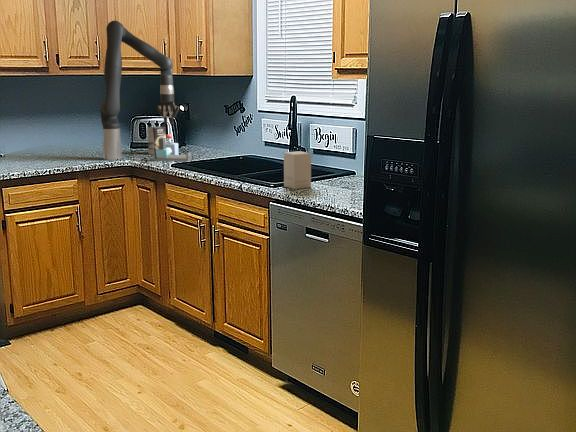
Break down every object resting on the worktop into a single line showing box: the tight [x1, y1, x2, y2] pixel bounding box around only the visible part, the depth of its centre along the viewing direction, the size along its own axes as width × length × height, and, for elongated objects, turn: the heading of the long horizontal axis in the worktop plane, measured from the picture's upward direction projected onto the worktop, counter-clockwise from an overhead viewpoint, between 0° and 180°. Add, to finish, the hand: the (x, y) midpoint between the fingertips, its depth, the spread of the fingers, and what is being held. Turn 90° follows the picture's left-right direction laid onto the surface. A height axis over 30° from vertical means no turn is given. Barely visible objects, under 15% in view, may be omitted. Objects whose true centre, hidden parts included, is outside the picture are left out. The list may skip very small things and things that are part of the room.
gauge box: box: [166, 142, 180, 155], centre depth 364 cm, size 8×8×8 cm
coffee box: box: [147, 126, 167, 156], centre depth 378 cm, size 9×6×16 cm
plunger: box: [166, 133, 173, 144], centre depth 363 cm, size 3×3×6 cm
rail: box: [152, 151, 192, 162], centre depth 354 cm, size 20×6×4 cm, turn 82°
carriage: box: [156, 138, 169, 158], centre depth 353 cm, size 6×5×10 cm
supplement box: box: [283, 150, 312, 190], centre depth 275 cm, size 9×9×15 cm
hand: (168, 124), depth 361 cm, fingers open, 2 cm apart
